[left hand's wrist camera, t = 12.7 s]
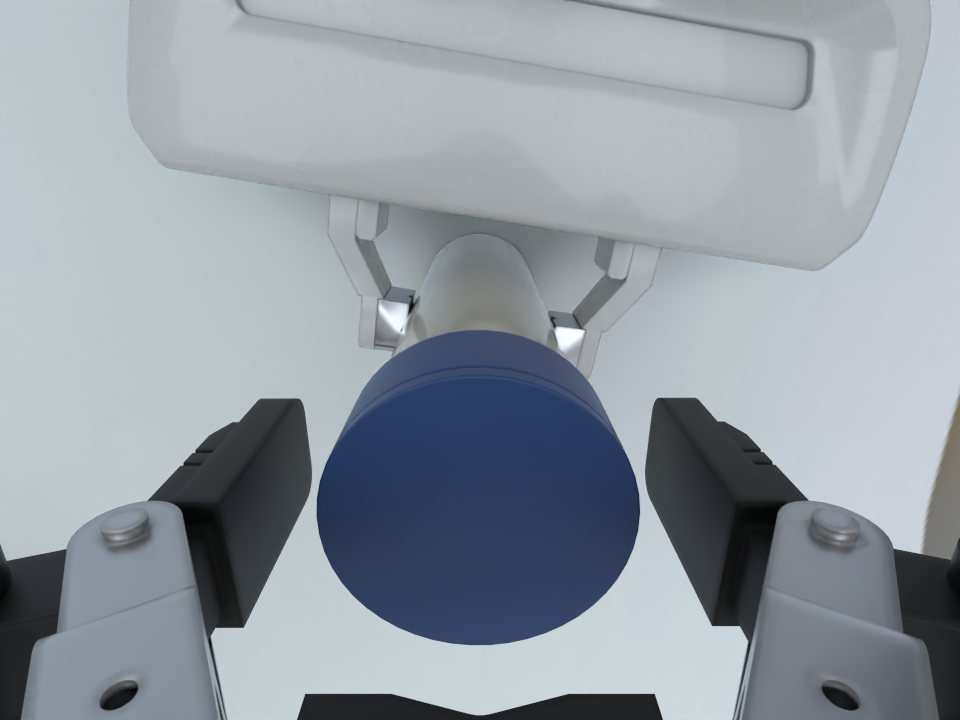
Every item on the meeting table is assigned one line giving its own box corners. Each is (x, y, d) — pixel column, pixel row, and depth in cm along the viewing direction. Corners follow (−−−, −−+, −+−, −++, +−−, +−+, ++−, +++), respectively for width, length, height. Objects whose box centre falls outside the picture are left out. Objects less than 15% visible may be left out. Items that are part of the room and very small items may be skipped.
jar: (466, 355, 25) (446, 652, 10) (405, 273, 24) (280, 476, 9) (551, 299, 24) (666, 537, 9) (493, 211, 23) (519, 322, 8)
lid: (448, 595, 12) (442, 687, 10) (292, 423, 11) (246, 489, 8) (656, 481, 11) (697, 558, 9) (516, 273, 10) (526, 306, 7)
